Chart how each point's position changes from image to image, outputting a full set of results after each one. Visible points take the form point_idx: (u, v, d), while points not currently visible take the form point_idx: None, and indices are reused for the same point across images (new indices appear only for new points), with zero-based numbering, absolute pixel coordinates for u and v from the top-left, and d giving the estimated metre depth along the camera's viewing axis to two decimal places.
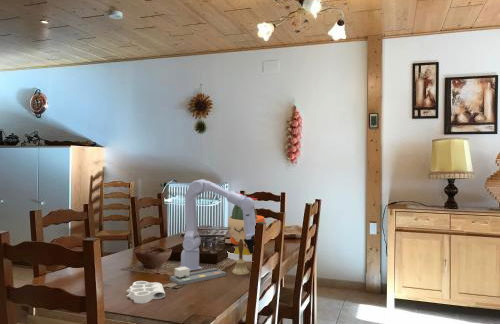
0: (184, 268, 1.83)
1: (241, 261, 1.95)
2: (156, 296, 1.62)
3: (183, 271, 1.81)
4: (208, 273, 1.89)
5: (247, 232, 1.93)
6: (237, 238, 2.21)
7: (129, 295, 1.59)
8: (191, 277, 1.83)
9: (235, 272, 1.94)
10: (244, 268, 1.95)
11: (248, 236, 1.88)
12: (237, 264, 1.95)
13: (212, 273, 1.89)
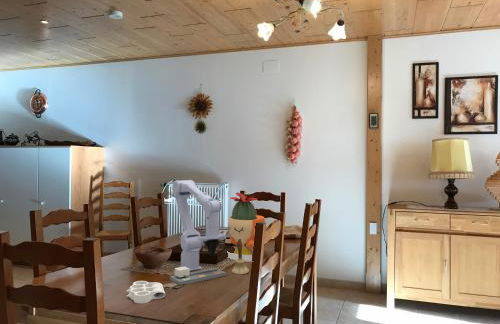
0: (184, 268, 1.83)
1: (241, 260, 1.96)
2: (156, 296, 1.62)
3: (183, 271, 1.81)
4: (208, 273, 1.89)
5: (206, 234, 1.89)
6: (237, 238, 2.21)
7: (129, 295, 1.59)
8: (191, 277, 1.83)
9: (237, 272, 1.94)
10: (245, 267, 1.96)
11: (198, 239, 1.85)
12: (238, 264, 1.95)
13: (212, 273, 1.89)
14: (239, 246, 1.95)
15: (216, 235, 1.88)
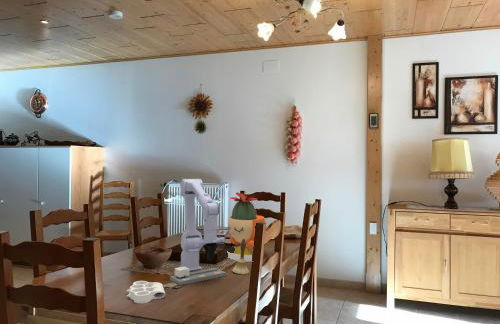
0: (184, 268, 1.83)
1: (243, 260, 1.96)
2: (156, 296, 1.62)
3: (183, 271, 1.81)
4: (208, 273, 1.89)
5: None
6: (237, 238, 2.21)
7: (129, 295, 1.59)
8: (191, 277, 1.83)
9: (239, 272, 1.94)
10: (246, 267, 1.97)
11: (196, 242, 1.78)
12: (240, 264, 1.95)
13: (212, 273, 1.89)
14: (243, 246, 1.95)
15: (214, 239, 1.81)
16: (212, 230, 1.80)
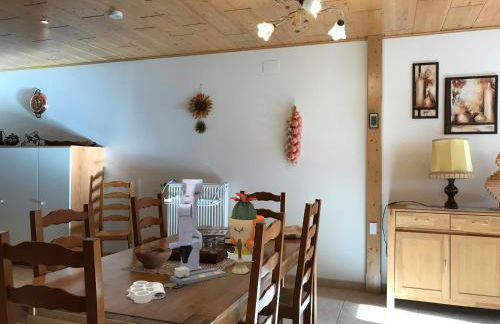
0: (184, 268, 1.83)
1: (242, 260, 1.96)
2: (156, 296, 1.62)
3: (183, 271, 1.81)
4: (208, 273, 1.89)
5: None
6: (237, 238, 2.21)
7: (129, 295, 1.59)
8: (191, 277, 1.83)
9: (240, 272, 1.94)
10: (245, 266, 1.97)
11: (170, 245, 1.72)
12: (240, 264, 1.95)
13: (212, 273, 1.89)
14: (240, 246, 1.95)
15: (189, 241, 1.75)
16: (187, 232, 1.74)
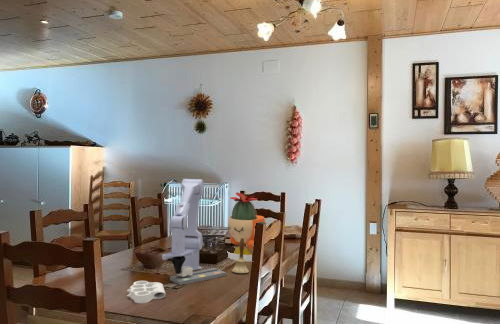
0: (187, 267, 1.84)
1: None
2: (156, 296, 1.62)
3: (186, 270, 1.82)
4: (208, 273, 1.89)
5: None
6: (237, 238, 2.21)
7: (129, 295, 1.59)
8: (191, 277, 1.83)
9: (243, 271, 1.94)
10: None
11: (163, 256, 1.77)
12: (242, 263, 1.96)
13: (212, 273, 1.89)
14: (243, 245, 1.97)
15: (182, 252, 1.80)
16: (179, 243, 1.79)
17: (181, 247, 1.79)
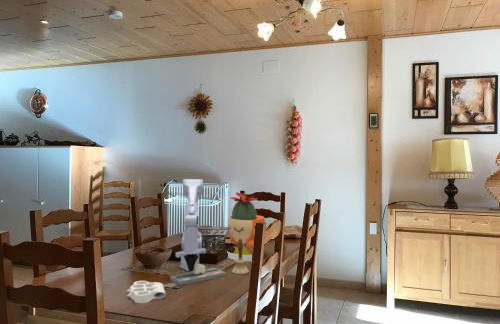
0: (200, 265, 1.88)
1: (243, 260, 1.97)
2: (156, 296, 1.62)
3: (199, 268, 1.86)
4: (208, 273, 1.89)
5: (184, 249, 1.85)
6: (237, 238, 2.21)
7: (129, 295, 1.59)
8: (191, 277, 1.83)
9: (244, 272, 1.94)
10: None
11: (176, 254, 1.81)
12: (242, 264, 1.95)
13: (212, 273, 1.89)
14: (242, 246, 1.96)
15: (195, 250, 1.84)
16: (192, 241, 1.83)
17: (194, 245, 1.83)
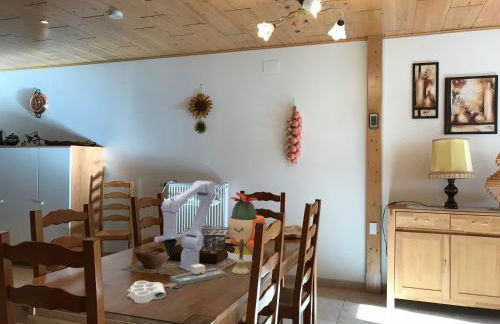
0: (200, 265, 1.88)
1: (244, 260, 1.97)
2: (156, 296, 1.62)
3: (199, 268, 1.86)
4: (208, 273, 1.89)
5: None
6: (237, 238, 2.21)
7: (130, 295, 1.59)
8: (191, 277, 1.83)
9: (245, 272, 1.95)
10: None
11: (155, 238, 1.84)
12: (243, 264, 1.95)
13: (212, 273, 1.89)
14: (243, 246, 1.96)
15: (173, 235, 1.87)
16: (171, 226, 1.86)
17: (173, 230, 1.87)
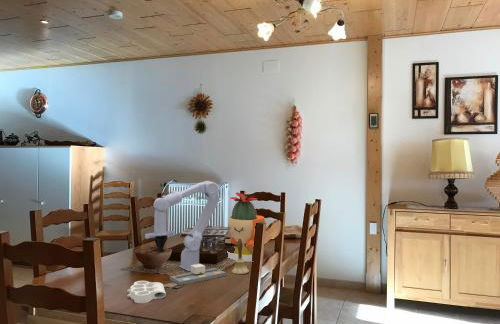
0: (200, 265, 1.88)
1: None
2: (157, 296, 1.62)
3: (199, 268, 1.86)
4: (208, 273, 1.89)
5: (154, 231, 1.95)
6: (237, 238, 2.21)
7: (130, 295, 1.59)
8: (191, 277, 1.83)
9: (246, 271, 1.95)
10: None
11: (146, 235, 1.91)
12: (243, 263, 1.96)
13: (212, 273, 1.89)
14: (242, 245, 1.96)
15: (164, 232, 1.94)
16: (161, 224, 1.93)
17: (163, 227, 1.93)
